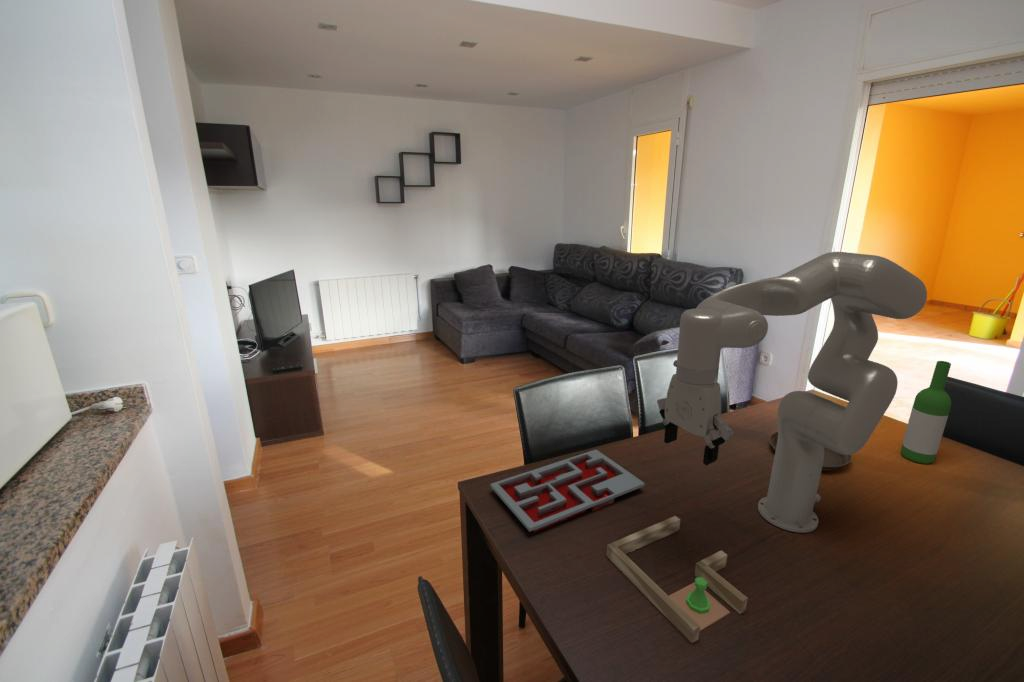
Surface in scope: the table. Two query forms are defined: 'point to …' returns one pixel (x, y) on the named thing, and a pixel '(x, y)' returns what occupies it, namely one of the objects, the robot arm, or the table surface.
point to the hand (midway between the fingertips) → (689, 451)
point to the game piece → (698, 597)
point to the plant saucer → (830, 457)
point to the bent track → (676, 602)
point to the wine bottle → (928, 418)
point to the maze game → (565, 489)
